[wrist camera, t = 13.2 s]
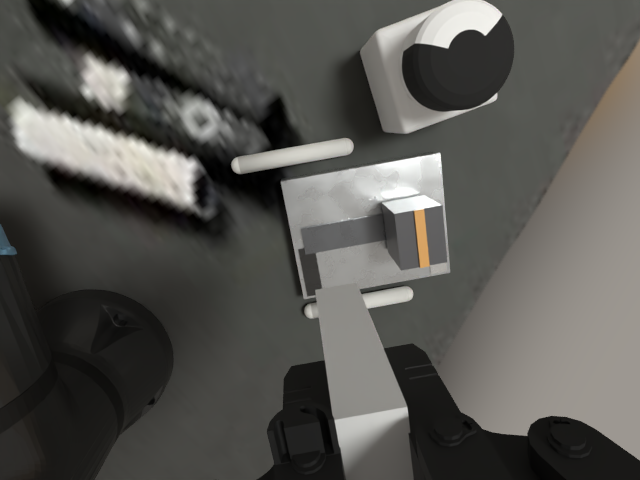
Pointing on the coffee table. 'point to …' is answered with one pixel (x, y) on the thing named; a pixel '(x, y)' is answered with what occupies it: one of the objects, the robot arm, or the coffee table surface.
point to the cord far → (372, 299)
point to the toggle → (415, 232)
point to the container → (438, 64)
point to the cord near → (292, 156)
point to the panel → (356, 221)
